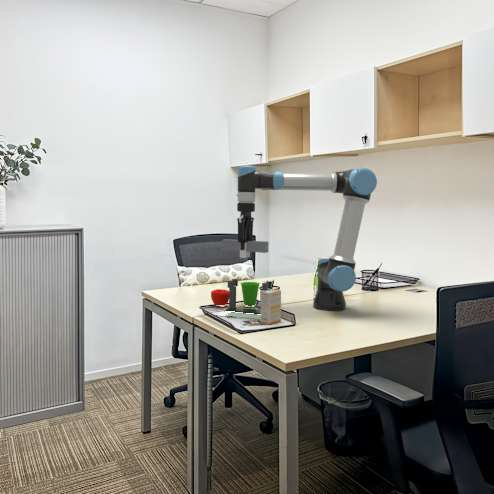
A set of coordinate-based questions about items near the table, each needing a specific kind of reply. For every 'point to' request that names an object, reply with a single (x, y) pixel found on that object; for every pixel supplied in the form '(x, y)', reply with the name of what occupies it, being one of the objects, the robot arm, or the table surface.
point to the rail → (251, 246)
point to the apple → (220, 296)
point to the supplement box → (270, 306)
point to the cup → (250, 292)
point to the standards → (232, 297)
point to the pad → (245, 315)
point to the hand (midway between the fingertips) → (244, 257)
